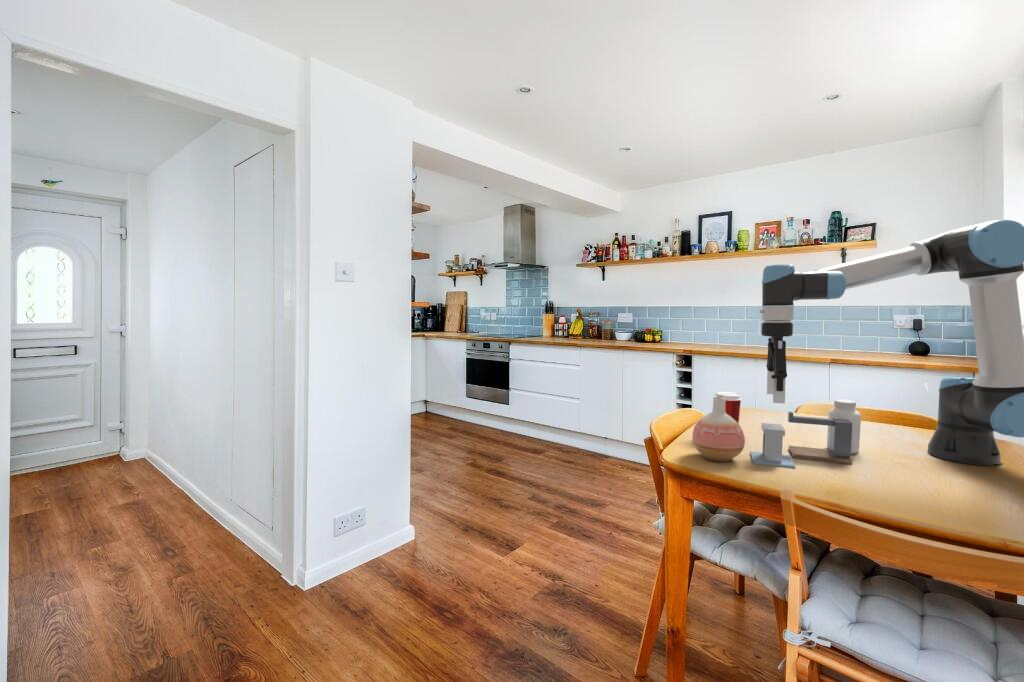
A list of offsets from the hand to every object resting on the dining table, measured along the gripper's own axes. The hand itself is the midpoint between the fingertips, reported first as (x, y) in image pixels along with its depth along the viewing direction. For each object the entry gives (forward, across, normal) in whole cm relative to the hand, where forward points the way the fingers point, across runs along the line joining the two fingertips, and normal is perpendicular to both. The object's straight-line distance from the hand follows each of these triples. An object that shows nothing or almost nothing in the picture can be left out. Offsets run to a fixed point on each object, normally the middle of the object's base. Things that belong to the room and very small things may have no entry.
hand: (775, 398), depth 132 cm
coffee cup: (+18, -18, -12) cm, 28 cm away
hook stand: (+18, -9, +12) cm, 23 cm away
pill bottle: (+18, -19, +20) cm, 33 cm away
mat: (+18, 0, -1) cm, 18 cm away
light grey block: (+17, 0, -1) cm, 17 cm away
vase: (+18, +4, -15) cm, 23 cm away
